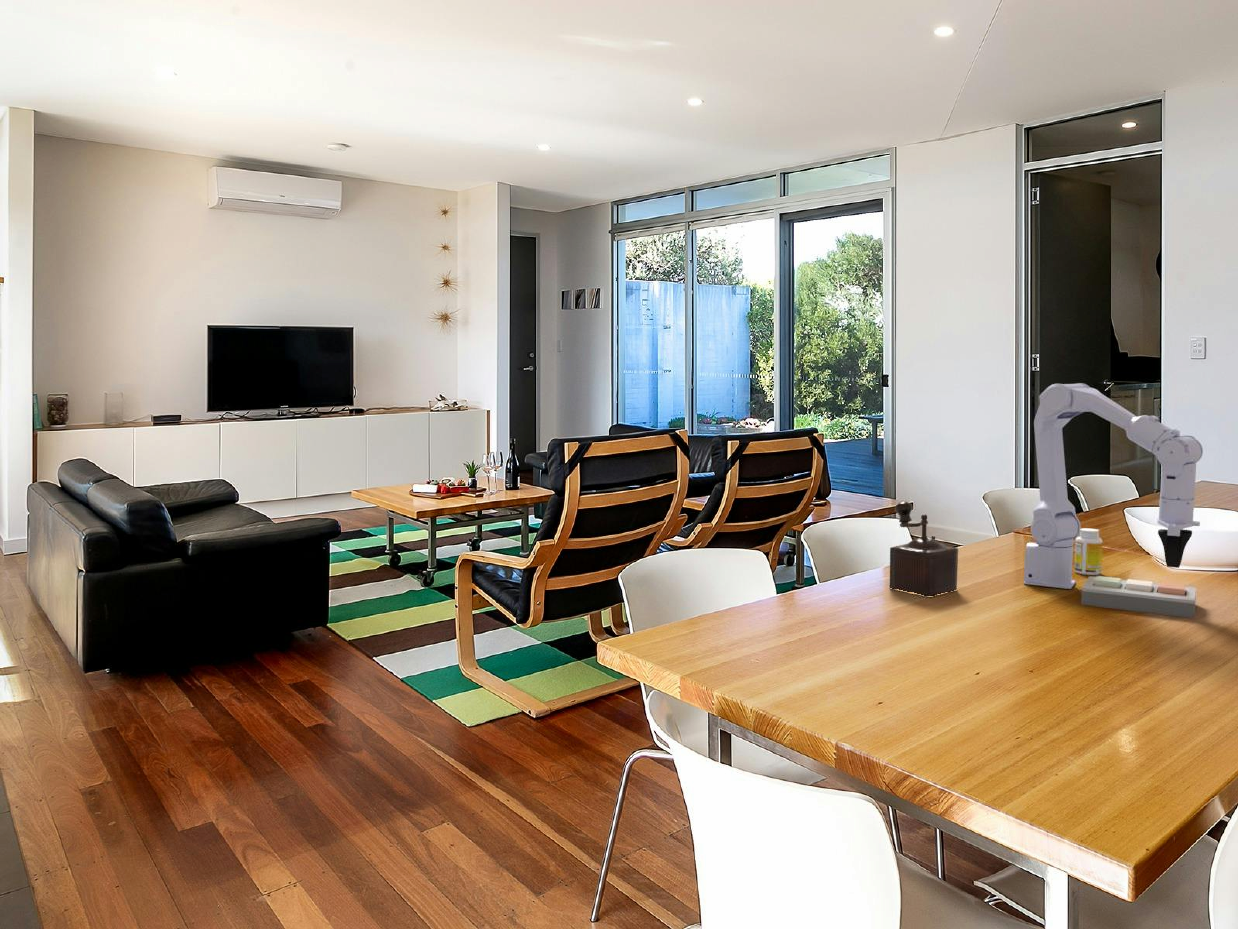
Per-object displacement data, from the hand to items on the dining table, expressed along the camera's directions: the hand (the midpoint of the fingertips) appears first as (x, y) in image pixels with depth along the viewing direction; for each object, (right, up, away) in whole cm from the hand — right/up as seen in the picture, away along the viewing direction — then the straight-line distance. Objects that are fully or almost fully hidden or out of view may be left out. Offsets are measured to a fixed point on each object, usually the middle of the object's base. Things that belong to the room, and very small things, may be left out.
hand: (1173, 566), depth 179 cm
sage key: (-9, -6, +7) cm, 13 cm away
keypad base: (-5, -8, +4) cm, 10 cm away
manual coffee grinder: (-45, -7, +20) cm, 49 cm away
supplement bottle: (0, -5, +32) cm, 33 cm away
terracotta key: (0, -6, +1) cm, 6 cm away
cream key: (-5, -6, +4) cm, 8 cm away
